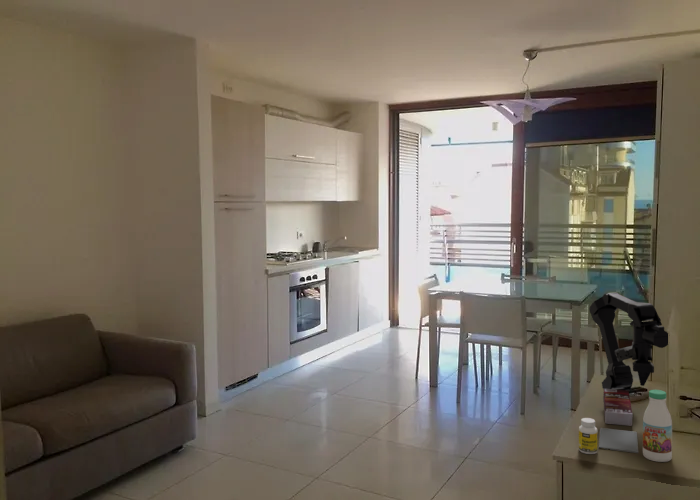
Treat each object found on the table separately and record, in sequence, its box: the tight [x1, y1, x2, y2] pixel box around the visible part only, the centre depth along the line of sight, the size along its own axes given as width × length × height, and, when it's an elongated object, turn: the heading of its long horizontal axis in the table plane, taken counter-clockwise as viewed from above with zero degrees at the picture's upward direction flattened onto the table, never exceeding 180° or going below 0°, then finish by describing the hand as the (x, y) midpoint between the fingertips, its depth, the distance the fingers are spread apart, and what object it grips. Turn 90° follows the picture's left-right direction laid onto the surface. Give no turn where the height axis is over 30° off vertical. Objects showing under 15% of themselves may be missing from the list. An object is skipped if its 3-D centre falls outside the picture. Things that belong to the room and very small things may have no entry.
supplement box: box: [602, 389, 634, 427], centre depth 209 cm, size 9×5×16 cm
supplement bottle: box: [578, 417, 599, 455], centre depth 183 cm, size 5×5×10 cm
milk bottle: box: [642, 389, 673, 463], centre depth 177 cm, size 8×8×20 cm
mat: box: [598, 427, 639, 454], centre depth 190 cm, size 16×11×1 cm
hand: (642, 385), depth 204 cm, fingers closed
